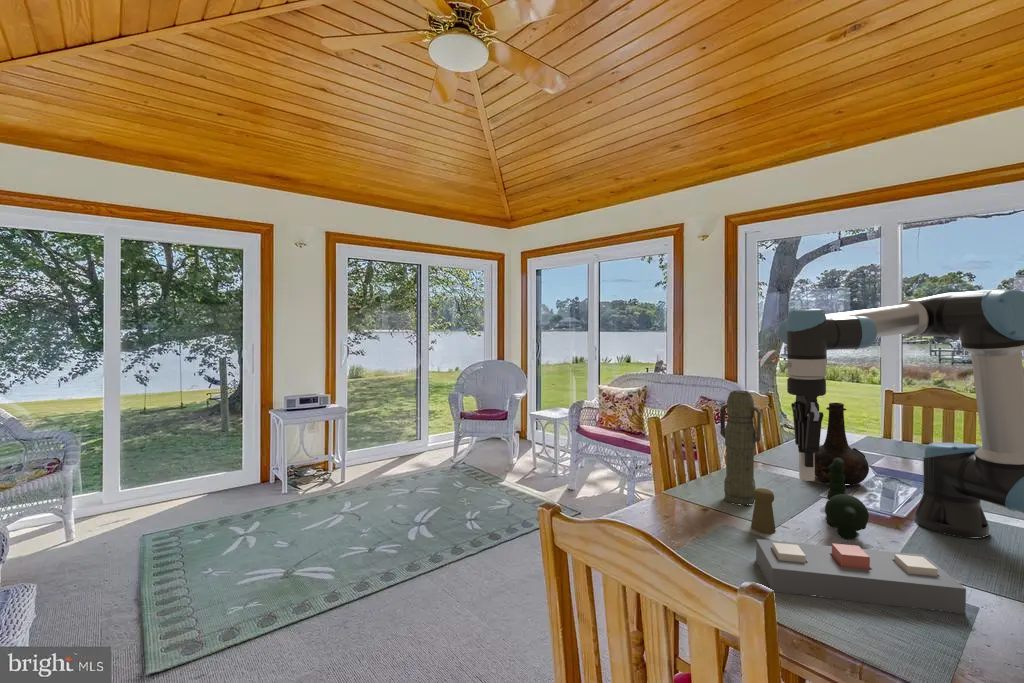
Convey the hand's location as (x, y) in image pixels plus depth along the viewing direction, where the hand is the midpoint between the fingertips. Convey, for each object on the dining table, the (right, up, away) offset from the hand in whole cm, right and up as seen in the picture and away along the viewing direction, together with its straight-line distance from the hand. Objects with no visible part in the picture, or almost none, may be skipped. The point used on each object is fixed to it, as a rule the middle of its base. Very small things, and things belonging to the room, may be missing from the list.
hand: (806, 479), depth 110 cm
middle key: (+6, -18, -6) cm, 19 cm away
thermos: (+5, -19, +43) cm, 47 cm away
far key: (-6, -19, -3) cm, 20 cm away
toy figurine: (+23, -20, +22) cm, 37 cm away
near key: (+17, -19, -9) cm, 27 cm away
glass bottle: (+47, -18, +60) cm, 78 cm away
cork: (+2, -20, +22) cm, 30 cm away
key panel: (+6, -21, -6) cm, 23 cm away
